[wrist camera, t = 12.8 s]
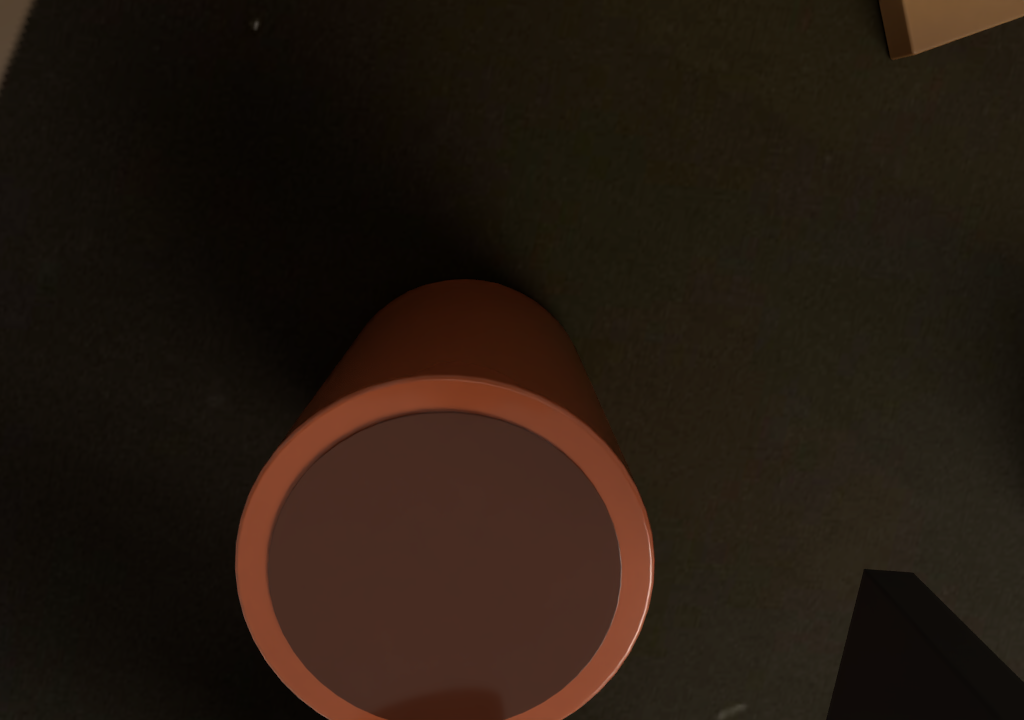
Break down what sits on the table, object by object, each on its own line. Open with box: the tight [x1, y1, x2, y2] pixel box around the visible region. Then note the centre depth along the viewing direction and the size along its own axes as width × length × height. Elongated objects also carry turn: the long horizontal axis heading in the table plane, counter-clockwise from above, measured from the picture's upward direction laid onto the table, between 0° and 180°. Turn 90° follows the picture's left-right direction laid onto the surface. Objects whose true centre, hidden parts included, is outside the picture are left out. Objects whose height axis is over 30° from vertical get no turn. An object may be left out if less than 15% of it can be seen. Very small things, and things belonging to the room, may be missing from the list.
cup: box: [235, 279, 655, 720], centre depth 18 cm, size 7×7×10 cm
